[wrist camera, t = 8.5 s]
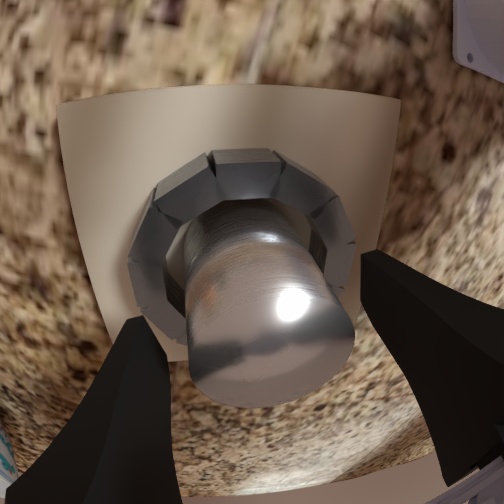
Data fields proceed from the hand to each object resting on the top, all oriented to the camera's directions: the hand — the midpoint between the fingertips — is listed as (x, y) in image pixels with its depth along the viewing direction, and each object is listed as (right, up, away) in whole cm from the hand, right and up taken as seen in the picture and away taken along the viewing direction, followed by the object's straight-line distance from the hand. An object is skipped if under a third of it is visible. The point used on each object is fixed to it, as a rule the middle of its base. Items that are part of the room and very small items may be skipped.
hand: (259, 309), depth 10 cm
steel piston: (-1, +2, +3) cm, 4 cm away
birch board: (-1, +2, +4) cm, 5 cm away
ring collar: (-1, +2, +4) cm, 5 cm away
